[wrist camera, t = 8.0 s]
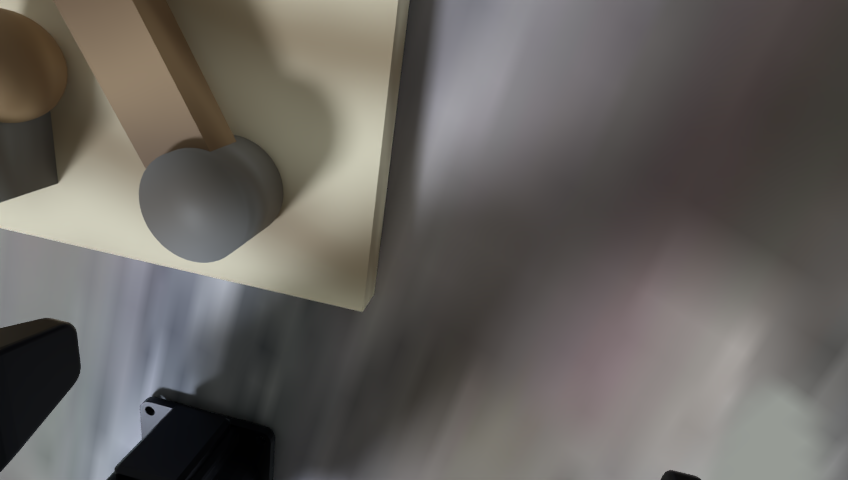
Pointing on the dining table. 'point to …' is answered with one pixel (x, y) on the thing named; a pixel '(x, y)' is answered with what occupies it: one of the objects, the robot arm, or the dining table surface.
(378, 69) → the nutcracker base
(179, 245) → the lever
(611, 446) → the dining table surface
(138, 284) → the dining table surface
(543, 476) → the dining table surface
